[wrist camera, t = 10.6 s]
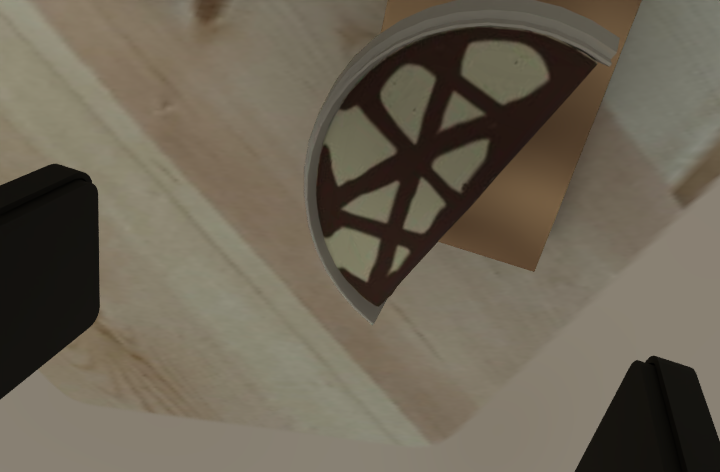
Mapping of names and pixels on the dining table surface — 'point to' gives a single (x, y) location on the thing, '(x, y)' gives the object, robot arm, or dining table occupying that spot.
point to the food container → (433, 130)
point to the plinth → (534, 152)
